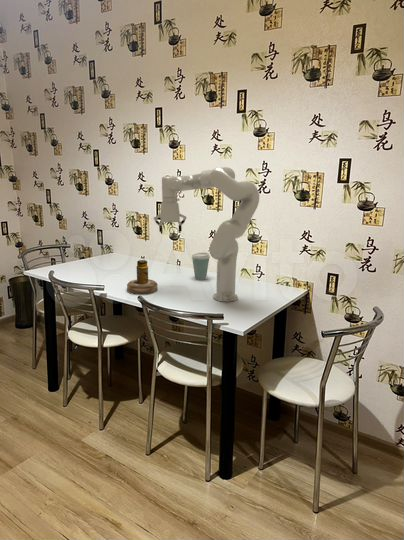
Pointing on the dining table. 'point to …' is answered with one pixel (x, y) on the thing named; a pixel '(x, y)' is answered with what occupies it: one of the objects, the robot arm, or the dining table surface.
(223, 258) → the robot arm
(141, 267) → the condiment
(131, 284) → the walnut stand
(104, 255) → the dining table surface
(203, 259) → the disposable coffee cup
